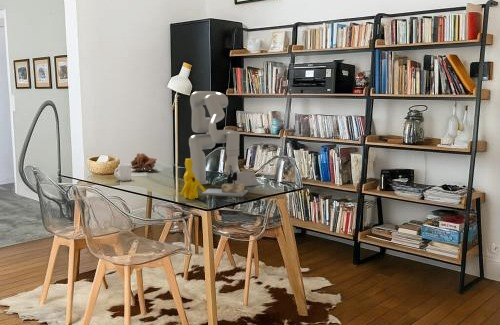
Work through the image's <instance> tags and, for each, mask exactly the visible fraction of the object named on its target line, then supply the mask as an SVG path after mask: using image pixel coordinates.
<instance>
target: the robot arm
mask: <svg viewBox="0 0 500 325" xmlns="http://www.w3.org/2000/svg"><path fill="white" fill-rule="evenodd" d="M189 103H190V108H191V130H192V132H194V133H198V134H193V135H191V136H190V137H189V138H188V146H189V152H190V159H192V162H193V166H192V172H193V173H194V174H195V179H198V181H199V182H200V184H201V185H202V186H204V185H208V184H209V181H208V180H207V178H206V177H207V174H206V172H207V171H206V164H207V163H206V159H207V158H206V154H205V152H204V151H203V150H210V149H213V148H215V146H216V144H225V143H226V144H225V147H226V148H225V151H226V152H225V156H226V164H225V173H226V177H227V178H226V180H227V182H226V184H233V180H234V181H237V173H238V169H239V157H240V132H239V131H237V130H235V131H234V130H233V129H217V124H216V123H218V122H221V121H222V120H223V119H224V118H225V115H226V114H225V112H224V108H227V107H228V106H229V99H228V97H227V95H226V94H224V93H222V92H218V91H208V90H207V91H206V90H204V91H203V90H199V91H194V92H193V93H191V94H190V99H189ZM204 106H205V107H206V109H205V107H204ZM206 110H207V111H208V114H209V116H210V117H207V116H206ZM199 133H200V134H199ZM201 133H204V134H201Z"/></svg>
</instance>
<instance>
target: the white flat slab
mask: <svg viewBox="0 0 500 325" xmlns="http://www.w3.org/2000/svg"><path fill="white" fill-rule="evenodd" d="M248 191H249V190H247V189H244V192H242V193H227V192H222V188H207V189H206V191H205V192H203V191H202V192H201V195H202V196H222V197H223V196H225V197H244V196H245V195H246V194H247V193H249V192H248Z"/></svg>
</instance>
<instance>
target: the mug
mask: <svg viewBox="0 0 500 325" xmlns="http://www.w3.org/2000/svg"><path fill="white" fill-rule="evenodd" d="M117 166H118V167H116V168H115V169H114V172H113V173H114V174H113V175H114V177H115V178H116V179H118V180H119V181H121V182H126V181H131V180H132V168H131V167H132V165H131V163H120V164H118V165H117ZM117 171H118V172H117ZM117 173H118V174H117Z"/></svg>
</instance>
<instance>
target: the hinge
mask: <svg viewBox="0 0 500 325" xmlns="http://www.w3.org/2000/svg"><path fill="white" fill-rule="evenodd" d="M233 184H244V187H248V186H249V187H251V186H258V185H259V181H258V180H257V177H256V173H255V172H254V171H251V170H250V171H249V170H243V171H242V170H241V171H240V172H238V171H237V181H234V180H233Z"/></svg>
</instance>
